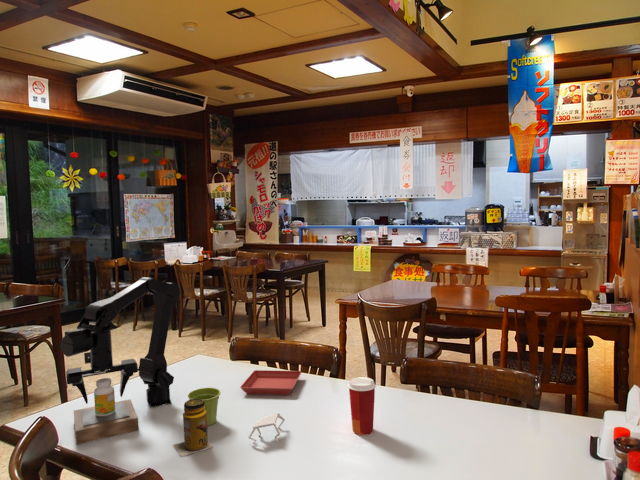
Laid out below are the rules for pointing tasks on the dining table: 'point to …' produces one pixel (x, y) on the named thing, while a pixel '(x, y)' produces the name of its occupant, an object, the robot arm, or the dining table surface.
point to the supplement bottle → (104, 397)
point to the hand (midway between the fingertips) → (104, 399)
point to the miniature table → (267, 424)
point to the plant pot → (207, 401)
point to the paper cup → (362, 404)
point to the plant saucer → (271, 382)
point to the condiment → (194, 428)
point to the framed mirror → (105, 422)
